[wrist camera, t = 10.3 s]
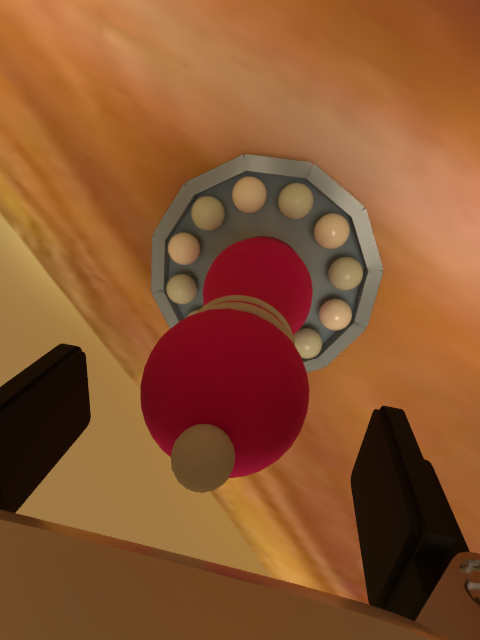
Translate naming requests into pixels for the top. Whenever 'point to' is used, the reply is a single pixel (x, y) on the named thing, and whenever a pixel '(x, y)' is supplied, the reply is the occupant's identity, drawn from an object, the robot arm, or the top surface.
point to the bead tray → (279, 222)
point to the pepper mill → (233, 368)
